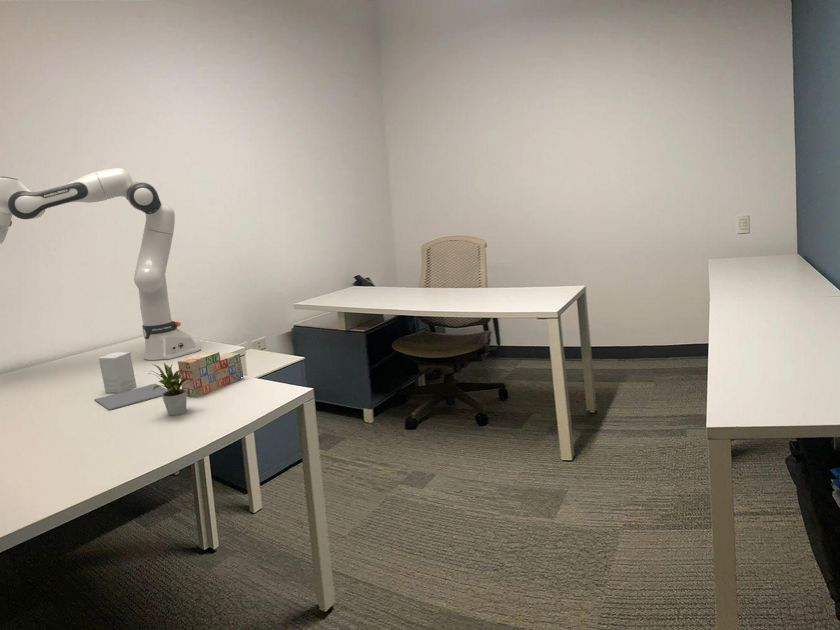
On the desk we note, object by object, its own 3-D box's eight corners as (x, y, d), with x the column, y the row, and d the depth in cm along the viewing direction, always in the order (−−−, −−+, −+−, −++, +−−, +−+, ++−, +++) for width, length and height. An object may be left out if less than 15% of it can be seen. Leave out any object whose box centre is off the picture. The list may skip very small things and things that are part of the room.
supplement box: (137, 386, 218) (131, 352, 215) (121, 393, 211) (114, 357, 208) (120, 386, 220) (114, 351, 218) (104, 392, 213) (97, 357, 211)
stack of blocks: (231, 377, 221) (226, 344, 218) (243, 378, 218) (239, 345, 215) (182, 396, 203) (177, 360, 200) (196, 398, 200) (190, 361, 197)
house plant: (137, 419, 183) (127, 366, 180) (170, 403, 196) (162, 353, 192) (175, 422, 178) (166, 368, 175) (207, 406, 190) (199, 355, 187)
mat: (155, 384, 218) (155, 383, 218) (172, 393, 206) (172, 392, 206) (94, 400, 205) (94, 399, 205) (109, 410, 193) (108, 409, 193)
